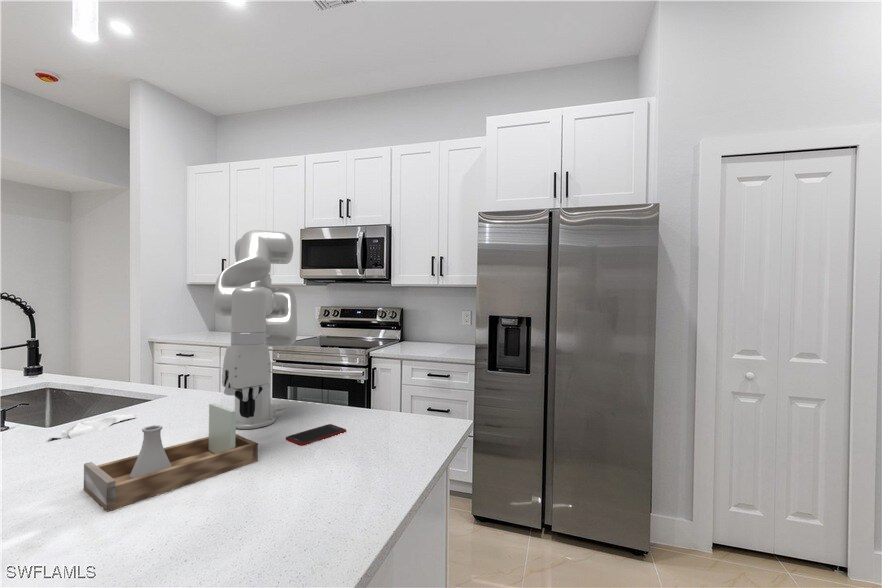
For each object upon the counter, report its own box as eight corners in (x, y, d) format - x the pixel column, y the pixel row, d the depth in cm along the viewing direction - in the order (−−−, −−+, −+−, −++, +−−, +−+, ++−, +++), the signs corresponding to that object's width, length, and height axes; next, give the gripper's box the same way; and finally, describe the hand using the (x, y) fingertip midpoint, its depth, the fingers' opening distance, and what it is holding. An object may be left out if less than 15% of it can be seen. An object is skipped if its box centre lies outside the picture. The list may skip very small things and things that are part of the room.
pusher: (212, 448, 99) (213, 403, 99) (235, 459, 93) (235, 411, 93) (208, 450, 98) (209, 404, 98) (230, 461, 92) (231, 411, 92)
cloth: (131, 412, 132) (131, 405, 132) (159, 419, 126) (159, 411, 126) (22, 438, 108) (22, 429, 108) (50, 448, 103) (50, 438, 103)
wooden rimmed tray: (228, 447, 104) (228, 427, 104) (257, 460, 96) (258, 438, 96) (83, 489, 81) (83, 463, 81) (106, 511, 73) (107, 482, 73)
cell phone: (347, 433, 117) (347, 429, 117) (301, 448, 105) (301, 444, 105) (330, 426, 122) (330, 423, 122) (284, 440, 110) (284, 436, 110)
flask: (150, 487, 80) (151, 435, 80) (119, 483, 82) (120, 431, 82) (181, 471, 87) (182, 423, 87) (152, 467, 89) (153, 420, 89)
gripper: (268, 336, 109) (267, 407, 109) (208, 340, 97) (207, 420, 97) (285, 338, 104) (284, 412, 104) (225, 343, 92) (223, 427, 92)
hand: (247, 416), depth 100 cm, fingers closed
